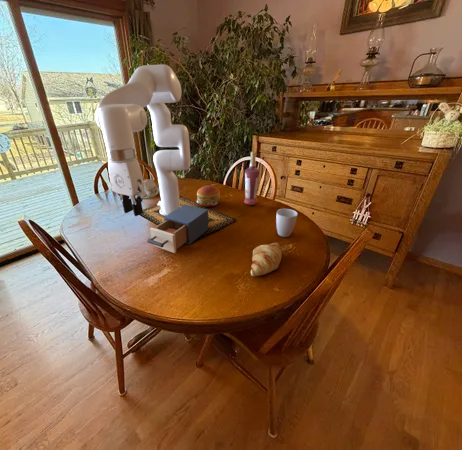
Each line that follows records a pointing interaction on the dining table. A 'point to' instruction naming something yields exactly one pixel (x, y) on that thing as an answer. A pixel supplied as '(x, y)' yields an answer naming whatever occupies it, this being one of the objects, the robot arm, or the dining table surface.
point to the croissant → (266, 258)
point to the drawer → (169, 235)
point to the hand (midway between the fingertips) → (133, 212)
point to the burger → (208, 196)
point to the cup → (285, 221)
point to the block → (170, 230)
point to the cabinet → (191, 220)
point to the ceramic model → (150, 188)
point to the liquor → (251, 182)
